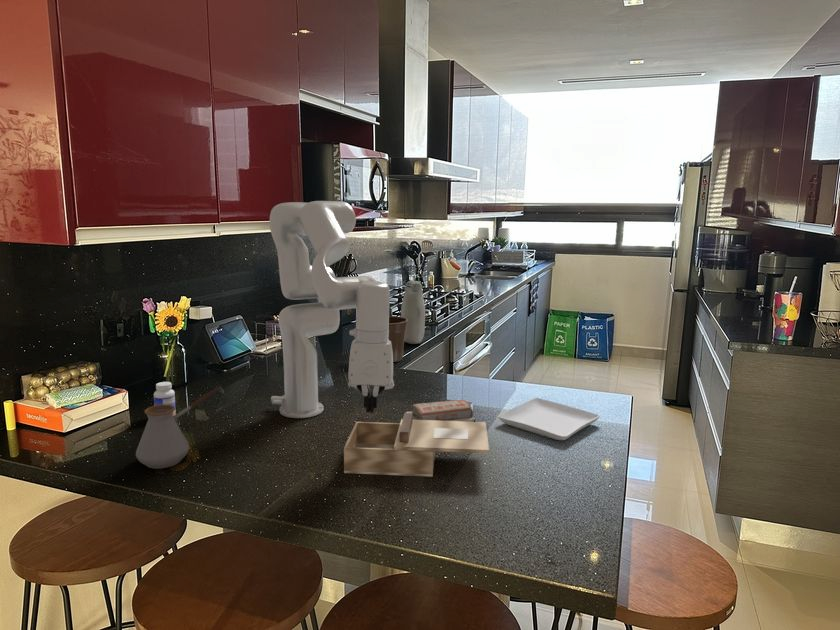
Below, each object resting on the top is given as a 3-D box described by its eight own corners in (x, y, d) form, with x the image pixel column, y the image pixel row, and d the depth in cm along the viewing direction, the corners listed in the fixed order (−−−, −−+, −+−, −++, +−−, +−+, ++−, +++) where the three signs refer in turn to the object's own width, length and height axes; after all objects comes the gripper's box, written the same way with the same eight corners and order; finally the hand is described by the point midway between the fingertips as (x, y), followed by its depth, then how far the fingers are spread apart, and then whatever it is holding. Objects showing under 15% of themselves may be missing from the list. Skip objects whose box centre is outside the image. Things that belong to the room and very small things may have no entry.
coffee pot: (149, 477, 126) (143, 412, 123) (128, 461, 133) (123, 400, 130) (237, 448, 141) (234, 390, 138) (214, 435, 149) (211, 380, 146)
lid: (394, 449, 127) (394, 435, 126) (401, 422, 143) (401, 409, 142) (489, 453, 125) (489, 439, 125) (485, 425, 142) (485, 412, 141)
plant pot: (357, 359, 224) (357, 319, 221) (386, 352, 237) (386, 314, 234) (387, 367, 214) (387, 325, 211) (415, 359, 226) (416, 319, 223)
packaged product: (463, 395, 169) (476, 406, 160) (462, 411, 170) (476, 423, 161) (405, 401, 164) (415, 413, 155) (405, 417, 165) (415, 429, 156)
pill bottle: (152, 416, 162) (149, 383, 160) (171, 411, 165) (168, 379, 164) (160, 421, 158) (157, 387, 156) (179, 416, 162) (177, 383, 160)
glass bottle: (396, 343, 252) (397, 280, 247) (413, 339, 259) (414, 278, 254) (411, 347, 245) (412, 282, 240) (428, 343, 252) (430, 280, 247)
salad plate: (564, 448, 144) (565, 435, 144) (495, 426, 158) (495, 414, 158) (601, 425, 160) (602, 414, 159) (535, 407, 174) (535, 396, 173)
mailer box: (344, 472, 129) (343, 448, 128) (356, 444, 144) (356, 421, 143) (432, 476, 128) (433, 451, 126) (435, 447, 143) (435, 424, 142)
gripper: (336, 338, 128) (336, 414, 132) (403, 341, 127) (400, 418, 131) (343, 329, 135) (342, 402, 139) (406, 333, 134) (403, 406, 138)
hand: (370, 410), depth 135 cm, fingers closed
